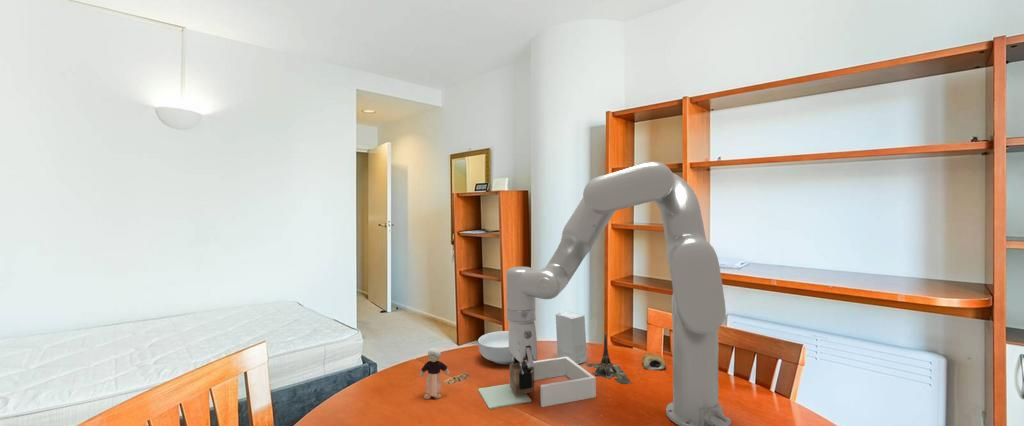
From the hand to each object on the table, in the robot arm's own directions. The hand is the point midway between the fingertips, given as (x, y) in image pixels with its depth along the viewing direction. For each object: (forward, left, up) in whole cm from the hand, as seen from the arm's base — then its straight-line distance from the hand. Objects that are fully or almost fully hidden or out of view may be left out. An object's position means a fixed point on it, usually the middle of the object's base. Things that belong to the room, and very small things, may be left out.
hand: (521, 383), depth 105 cm
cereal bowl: (+25, -3, -3) cm, 25 cm away
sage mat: (+1, +5, -3) cm, 6 cm away
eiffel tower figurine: (+4, -28, -4) cm, 29 cm away
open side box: (0, -9, -3) cm, 10 cm away
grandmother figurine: (+7, +22, -3) cm, 23 cm away
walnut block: (0, 0, -2) cm, 2 cm away
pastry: (+4, -45, -4) cm, 45 cm away
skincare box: (+17, -23, -3) cm, 29 cm away
